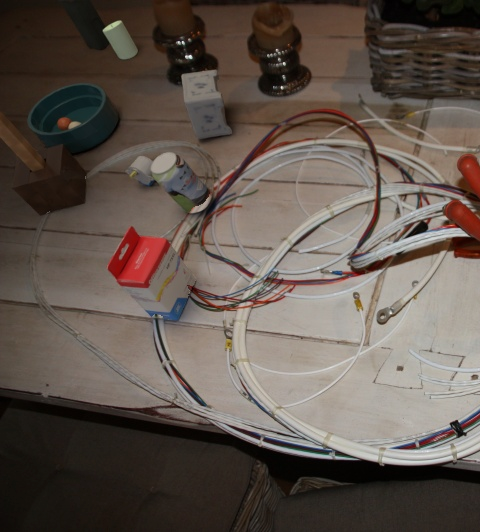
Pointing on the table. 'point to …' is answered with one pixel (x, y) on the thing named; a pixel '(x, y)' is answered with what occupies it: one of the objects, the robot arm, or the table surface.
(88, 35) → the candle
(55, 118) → the bowl
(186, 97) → the white printed box
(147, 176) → the electric motor
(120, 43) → the candle
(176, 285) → the ink box
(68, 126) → the cream ball
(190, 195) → the beverage can
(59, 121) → the terracotta ball
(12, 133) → the stirring stick
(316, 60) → the table surface
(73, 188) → the holder
